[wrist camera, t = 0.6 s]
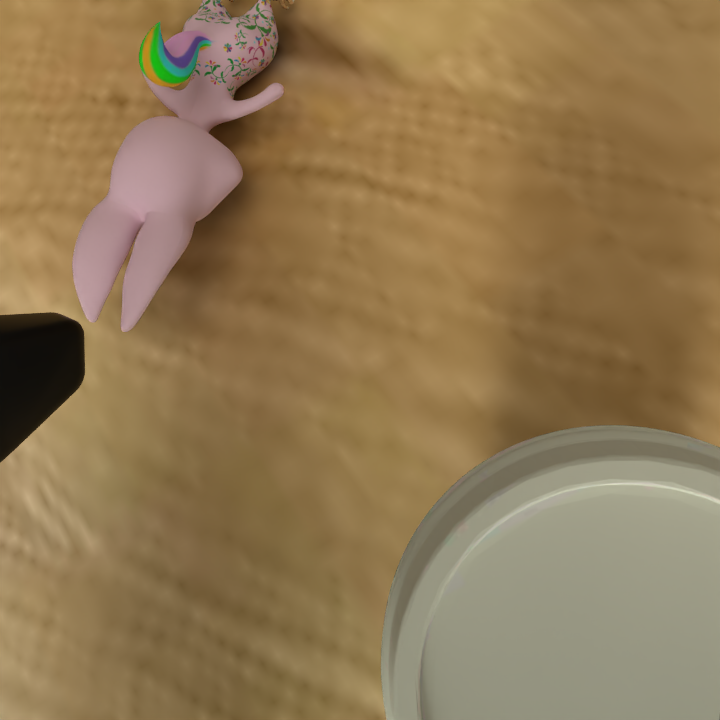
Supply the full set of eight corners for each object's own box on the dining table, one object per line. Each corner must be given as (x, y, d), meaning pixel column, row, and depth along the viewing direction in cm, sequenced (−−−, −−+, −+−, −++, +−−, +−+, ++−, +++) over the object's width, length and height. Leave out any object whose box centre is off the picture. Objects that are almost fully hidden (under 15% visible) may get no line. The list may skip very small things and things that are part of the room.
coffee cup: (497, 751, 21) (467, 1101, 9) (408, 490, 23) (292, 517, 11) (773, 677, 19) (1138, 986, 8) (653, 405, 21) (807, 337, 10)
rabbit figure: (209, 19, 29) (65, 322, 26) (143, -111, 24) (-52, 253, 20) (337, 36, 28) (202, 363, 24) (299, -99, 22) (116, 300, 19)
